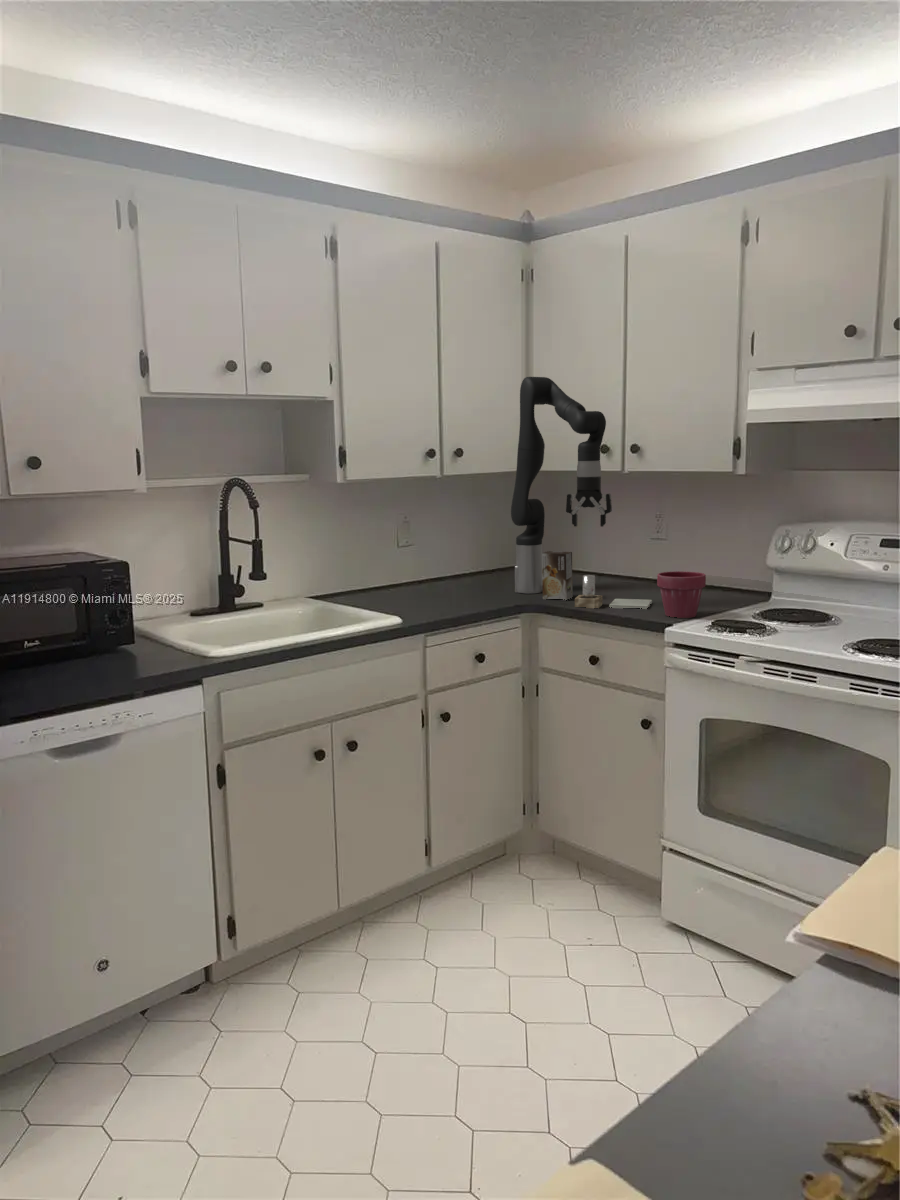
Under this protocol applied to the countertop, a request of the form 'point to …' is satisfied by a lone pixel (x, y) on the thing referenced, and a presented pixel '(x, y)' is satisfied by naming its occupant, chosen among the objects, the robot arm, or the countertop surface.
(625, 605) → the sage mat
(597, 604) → the wood collar
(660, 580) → the plant pot
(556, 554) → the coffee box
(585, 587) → the metal peg
